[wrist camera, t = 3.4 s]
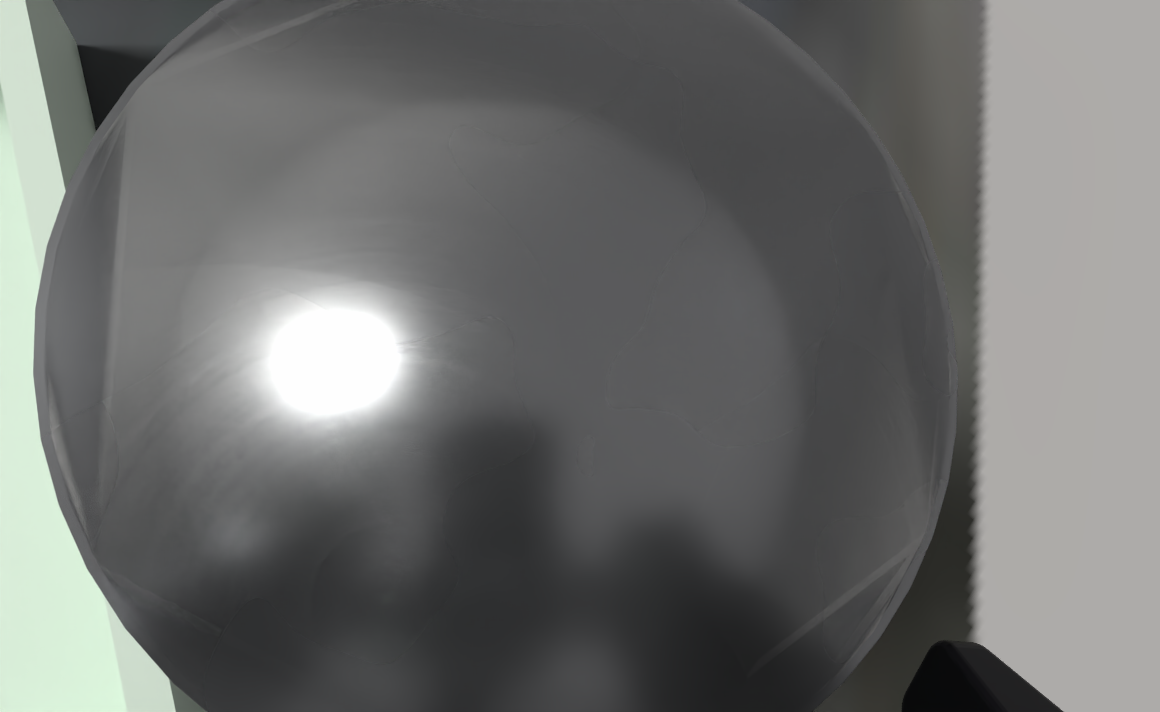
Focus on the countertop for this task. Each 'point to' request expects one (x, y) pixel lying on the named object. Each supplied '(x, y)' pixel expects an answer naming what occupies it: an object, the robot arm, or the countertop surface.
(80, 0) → the countertop surface
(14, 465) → the tray
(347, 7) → the steel canister
